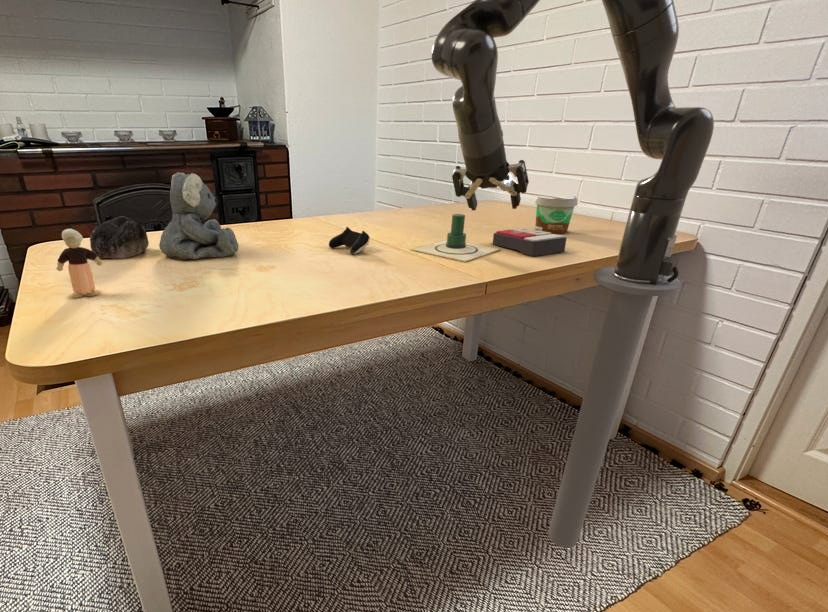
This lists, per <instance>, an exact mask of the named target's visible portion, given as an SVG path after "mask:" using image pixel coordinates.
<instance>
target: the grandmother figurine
mask: <svg viewBox="0 0 828 612" xmlns="http://www.w3.org/2000/svg"><path fill="white" fill-rule="evenodd" d="M61 238H62V240H63V242H64V244H65V246H67V247H66V248H64V249H63V251H62V252H61V253H60V255H59V257H58V259H57V266H56V270H57V271H59V272H62V271H63V270H64V267H65V263H66V262H68V266H67V267H68V274H69V278H70V284H71V288H72V291H73V292H72V293H71V296H70V297H71V299H78V298H82V297H83V296H84V295H85V294H86V296H87V297H93V296H97V295H98V292H97V291H96V284H95V279H94V275H93V271H92V268H91V264H90V263H89V262H88V260H90V261H93V262H94V263H95V264H96V266H98V267H99V266H102V265H103V263H104V262H103V261H102V260H101V258H100V257H98V256H97V254H96V253H94V252H93V251H92V250H91V249H89V248H86V247H82V246H81V242H83V240H84V237H83V235H82V234H81V233H80V232H79V231H77V230H76V229H73V228H66V229H64V230H62V232H61ZM80 246H81V247H80Z"/></svg>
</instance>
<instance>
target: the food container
mask: <svg viewBox="0 0 828 612" xmlns="http://www.w3.org/2000/svg"><path fill="white" fill-rule="evenodd" d="M534 204H535V205H536V212H535V213H536V214H535V225H534V226H535V228H534V230H536V231H544V232H550V233H552V234H556V235H565V234H567V233H568V229H569V226H570V223H571V219H572V215H573V214H574V210H575V207H577V206H578V196H575V195H574V196H573V198H558V197H557V198H556V197H555V198H554V197H553V198H547V197H540V196H537V198H536V200H535V202H534Z"/></svg>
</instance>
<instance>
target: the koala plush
mask: <svg viewBox="0 0 828 612" xmlns="http://www.w3.org/2000/svg"><path fill="white" fill-rule="evenodd" d="M170 183H171V184H170V185H171V186H170V190H169V201H170V205H171V206H170V207H171V211H172V218H171V220H170V221H169V222H168V223H167V225H166V226H165V228H164V230H163V231H162V233H161V235H160V239H159V244H158V247H159V250H160V252H161V253H163V254H164V255H165V256H167V257H169V258H179V259H182V260H198V259H202V258H225V257H230V256H233V255H235V254H236V253H238V251H239V243H238V239H237V237H236V233H235V232H234V230H233V229H232V228H231V227H227V226H226V227H223V228H222V226H221V224H220V223H219V222H218V220H216V219H214V218H213V219H209V218H210V217H211V215H212V214H213V212H214V210H215V208H216V207H217V206H218V204H219V200H218V197H217V196H216V195H215V194H213V193H212V192H211V189H210V188H209V186H207V185H206V184H205V183H204V182H203V181H202V179H201V176H199V175H197V174H196V173H193V172H191V173H190V174H189V173H187V174H185V172H179V171H178V172H176V173H175V174H172V176H171V181H170ZM207 219H208V220H207ZM206 220H207V221H206ZM204 221H206V222H204ZM202 222H204V224H203V223H202Z"/></svg>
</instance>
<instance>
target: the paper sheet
mask: <svg viewBox="0 0 828 612" xmlns="http://www.w3.org/2000/svg"><path fill="white" fill-rule="evenodd" d="M446 242H447V239H444V240H440V241H437V242H434V243H430V244H426V245H423V246H419V247H415V248H412V251H415V252H418V253H424V254H428V255H432V256H435V257H440V258H445V259H449V260H454V261H460V262H462V263H463V262H464V263H465V262H469V261H472V260H475V259H478V258H481V257H484V256H487V255H490V254H493V253H495V252H496V253H497V252H498V251H500V250H501V249H500V248H496V247H492V246H486V245H481V244H477V243H471V242H470V243H469V242H467V241H466V242H465V243H466V247H465V248H461V249H454V248H448V247H446Z"/></svg>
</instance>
